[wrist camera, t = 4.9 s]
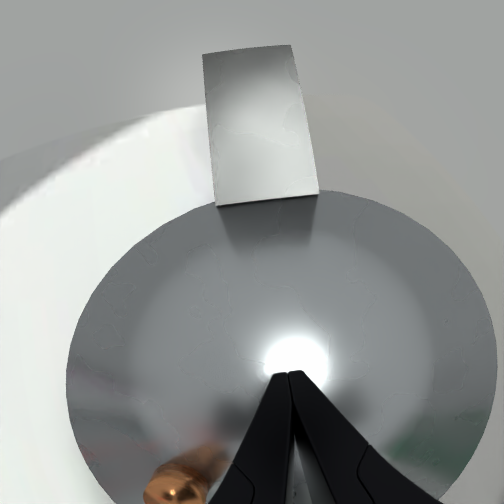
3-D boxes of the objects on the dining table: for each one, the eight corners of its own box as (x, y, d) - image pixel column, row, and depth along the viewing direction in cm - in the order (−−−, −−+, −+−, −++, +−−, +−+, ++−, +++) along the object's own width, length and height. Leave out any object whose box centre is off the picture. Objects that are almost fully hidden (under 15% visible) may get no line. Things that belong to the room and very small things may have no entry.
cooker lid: (451, 509, 9) (469, 532, 7) (142, 547, 10) (130, 575, 7) (441, 70, 10) (467, 43, 7) (53, 115, 10) (21, 94, 8)
